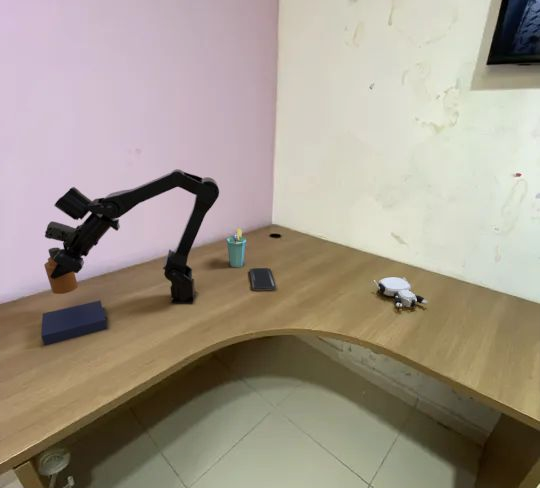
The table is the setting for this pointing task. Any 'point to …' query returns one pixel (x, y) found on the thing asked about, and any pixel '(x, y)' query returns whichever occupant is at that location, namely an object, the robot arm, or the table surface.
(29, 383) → the table surface
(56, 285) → the bottle
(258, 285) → the phone
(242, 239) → the cup
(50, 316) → the case
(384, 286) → the robot toy
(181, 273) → the robot arm
